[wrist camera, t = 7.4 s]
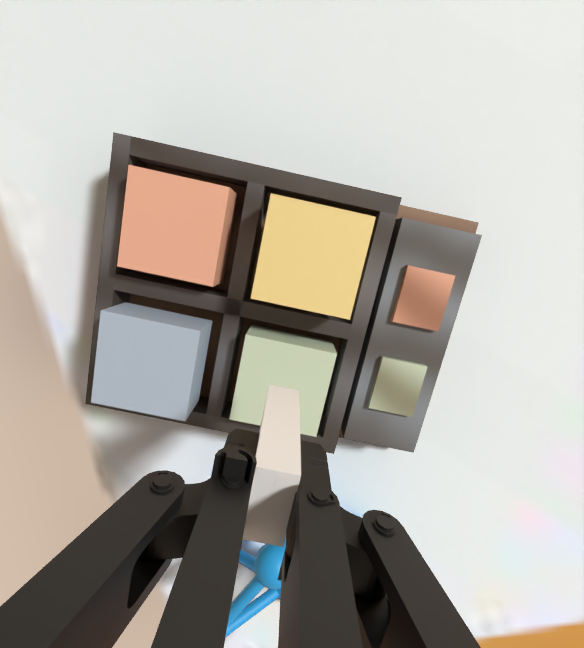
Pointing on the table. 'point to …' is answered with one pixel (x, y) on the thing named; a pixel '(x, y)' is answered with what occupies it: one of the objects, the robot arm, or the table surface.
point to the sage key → (283, 374)
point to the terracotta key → (176, 226)
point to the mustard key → (311, 256)
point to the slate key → (150, 360)
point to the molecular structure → (257, 584)
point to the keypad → (347, 335)
